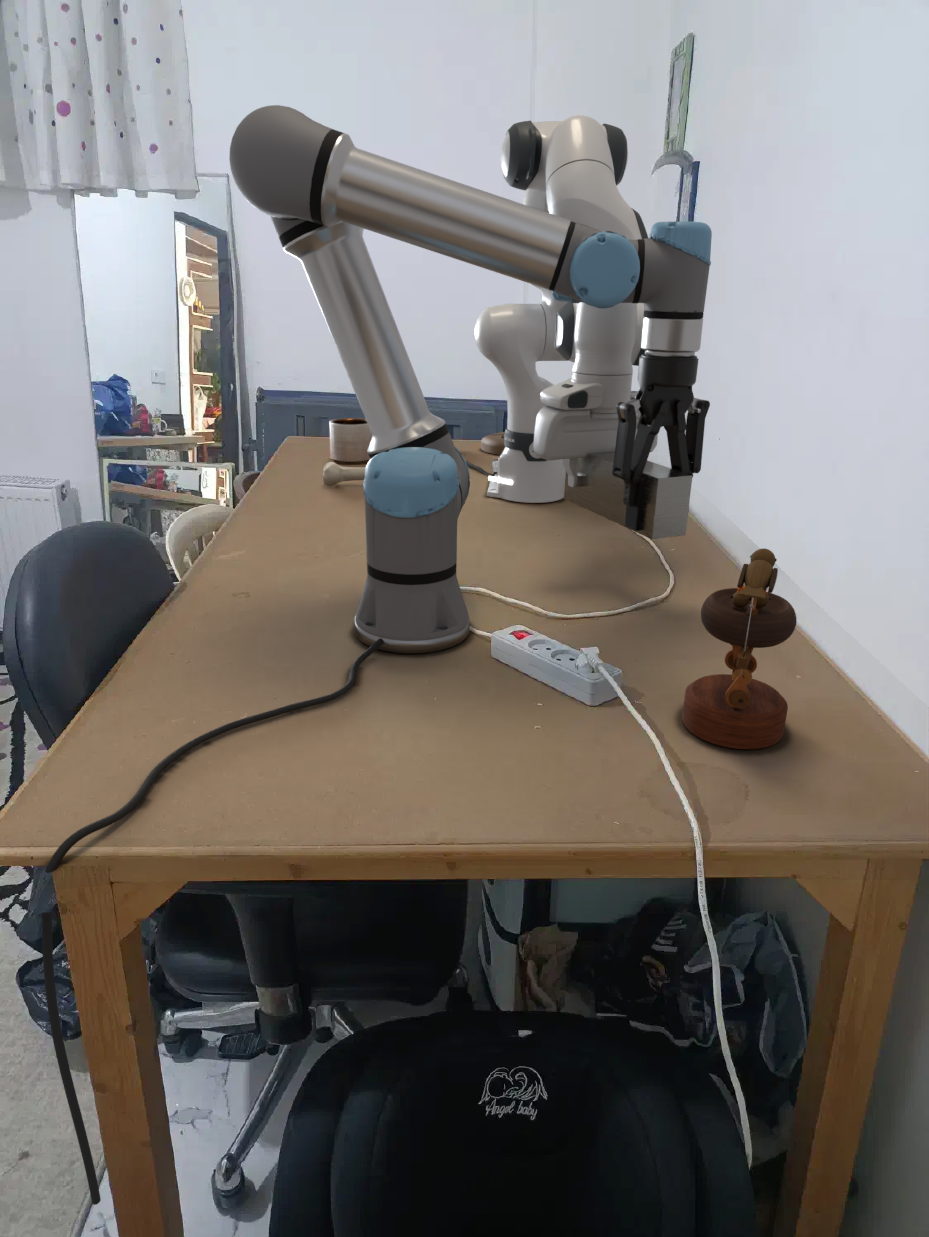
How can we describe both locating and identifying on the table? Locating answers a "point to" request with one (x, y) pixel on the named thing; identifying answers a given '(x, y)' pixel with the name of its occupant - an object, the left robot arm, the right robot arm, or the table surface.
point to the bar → (660, 501)
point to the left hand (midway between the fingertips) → (651, 525)
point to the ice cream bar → (493, 443)
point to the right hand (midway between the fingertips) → (593, 484)
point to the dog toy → (341, 474)
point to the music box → (742, 662)
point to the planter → (349, 440)
